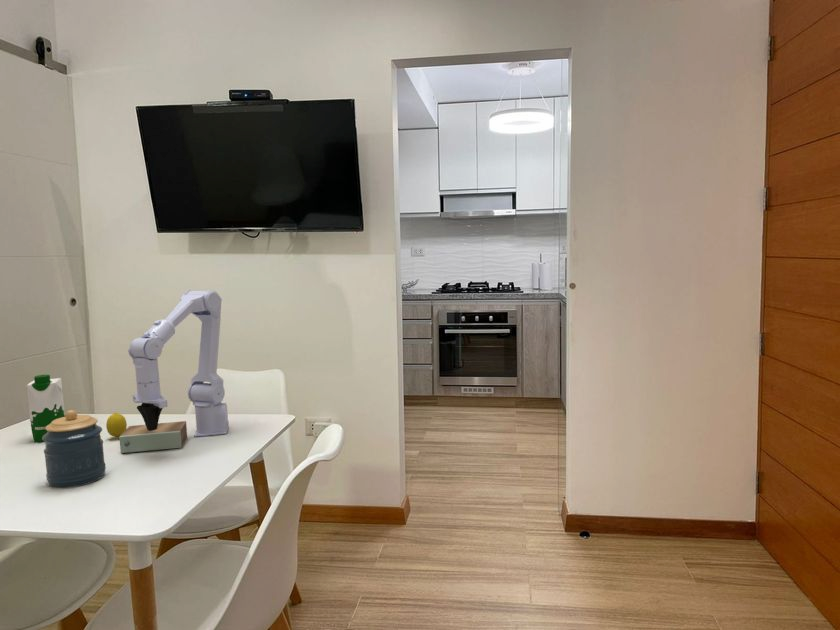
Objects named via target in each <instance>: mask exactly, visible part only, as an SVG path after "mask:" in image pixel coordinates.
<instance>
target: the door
mask: <svg viewBox="0 0 840 630" xmlns="http://www.w3.org/2000/svg"><path fill="white" fill-rule="evenodd" d="M118 440H119V451H120V453H121V454H127V453H126V452H129V453H137V451H139V452H149V451H148V450H150V451H157V450H159V449H160V450H171V449H177V448H179V449H181V448H183V446H182V444H181V431H172V432H160V433H149V434H137V435H126V436H120V437H119V438H118Z"/></svg>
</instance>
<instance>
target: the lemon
mask: <svg viewBox="0 0 840 630" xmlns="http://www.w3.org/2000/svg"><path fill="white" fill-rule="evenodd" d="M105 427H106V431H107V433H108V434H109V435H110V436H112V437H114V438H116V439H119V437H120V436H121V435H122V433H123V432H124V431H125V430H126V429H127V428H128V424H127V420H126V417H125V416H124V415H123V414H121V413H118V412H114V413H113V414H111V415H109V417H108V418H107V419H106V426H105Z"/></svg>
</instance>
